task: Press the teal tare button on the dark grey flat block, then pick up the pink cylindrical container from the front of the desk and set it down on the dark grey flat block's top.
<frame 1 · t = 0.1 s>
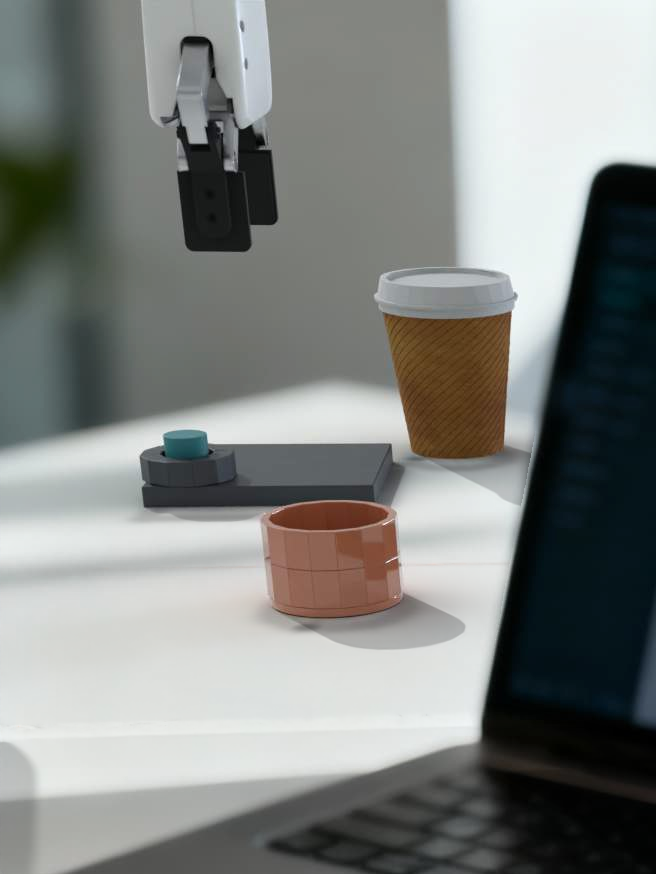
hand: (234, 237, 127), 19 cm above the table, tool pointing down, fingers open, 9 cm apart
tare button: (186, 446, 151), point 3 cm above the table, slide at 0.1 cm
dark grey flat block: (273, 484, 156), on the table
disposable coffee cup: (458, 452, 168), on the table
pink cylindrical container: (337, 599, 133), on the table
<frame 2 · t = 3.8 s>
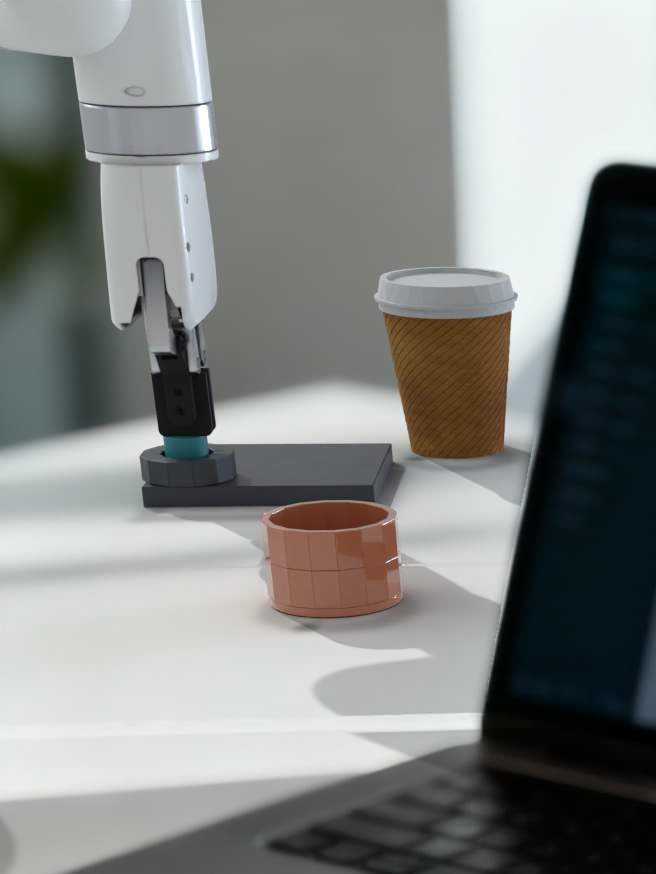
hand: (188, 432, 151), 4 cm above the table, tool pointing down, fingers closed
tare button: (186, 446, 151), point 3 cm above the table, slide at 0.1 cm, touching gripper
everything else where it was.
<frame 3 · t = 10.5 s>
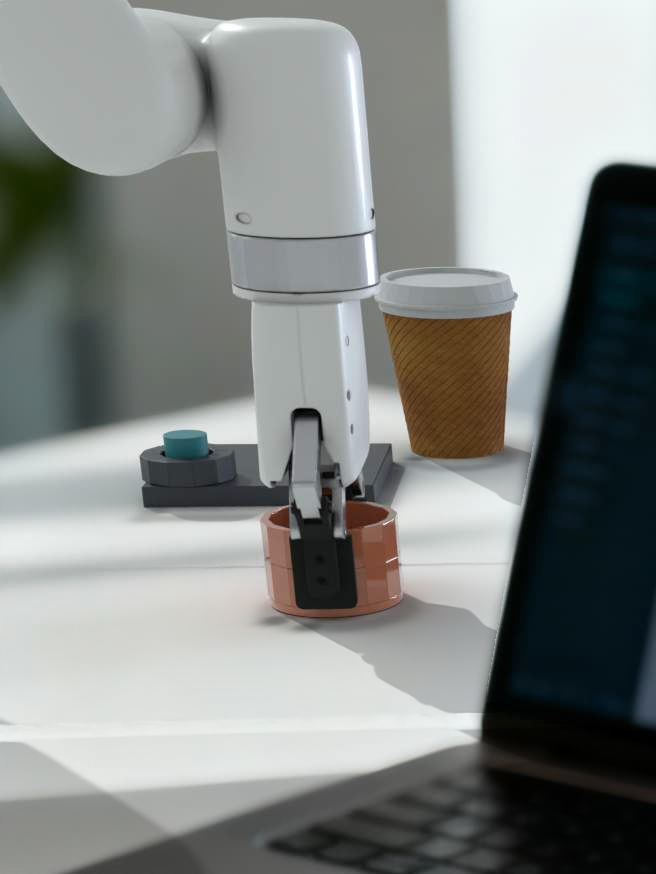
hand: (336, 585, 133), 1 cm above the table, tool pointing down, fingers closed on pink cylindrical container, 7 cm apart
tare button: (186, 446, 151), point 3 cm above the table, slide at 0.1 cm
pink cylindrical container: (337, 599, 133), on the table, touching gripper
everything else where it was.
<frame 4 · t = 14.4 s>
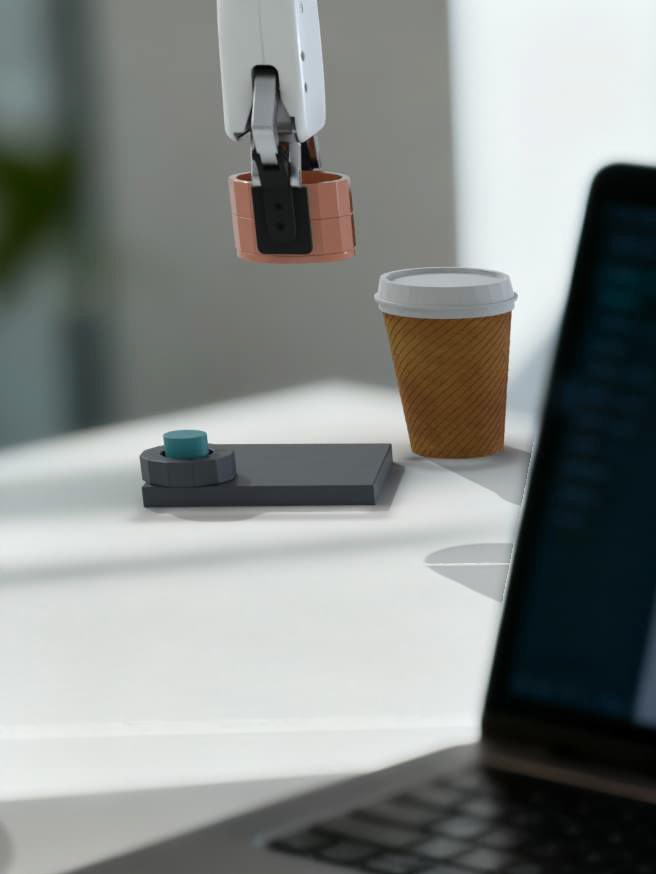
hand: (294, 241, 150), 16 cm above the table, tool pointing down, fingers closed on pink cylindrical container, 7 cm apart
pink cylindrical container: (297, 255, 150), point 15 cm above the table, touching gripper
everything else where it was.
when the fingers open (2 cm above the table, at t = 18.3 s): pink cylindrical container stays where it is, resting on dark grey flat block.
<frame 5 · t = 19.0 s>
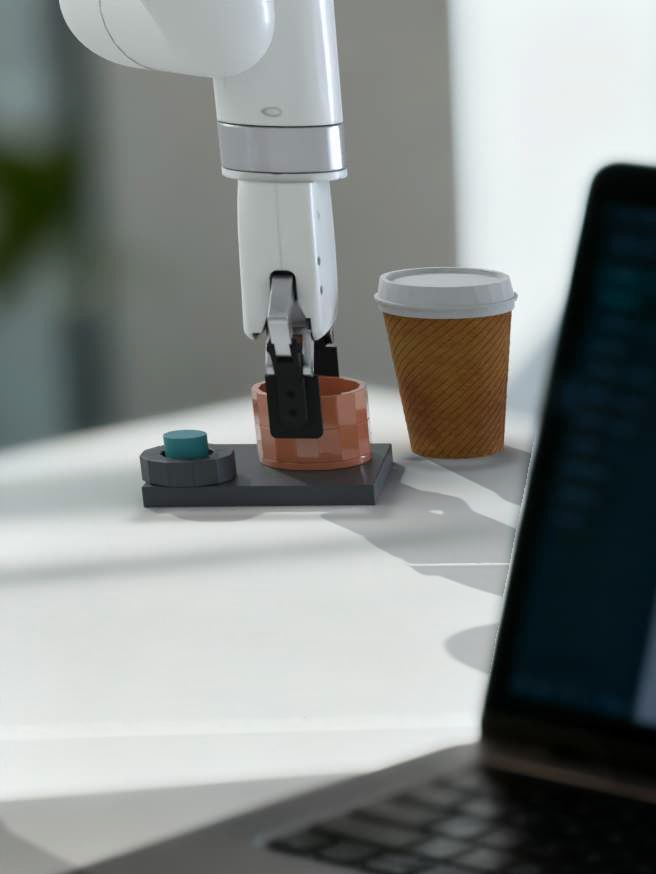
hand: (307, 421, 156), 4 cm above the table, tool pointing down, fingers open, 9 cm apart
pink cylindrical container: (316, 458, 158), point 1 cm above the table, touching dark grey flat block
everything else where it was.
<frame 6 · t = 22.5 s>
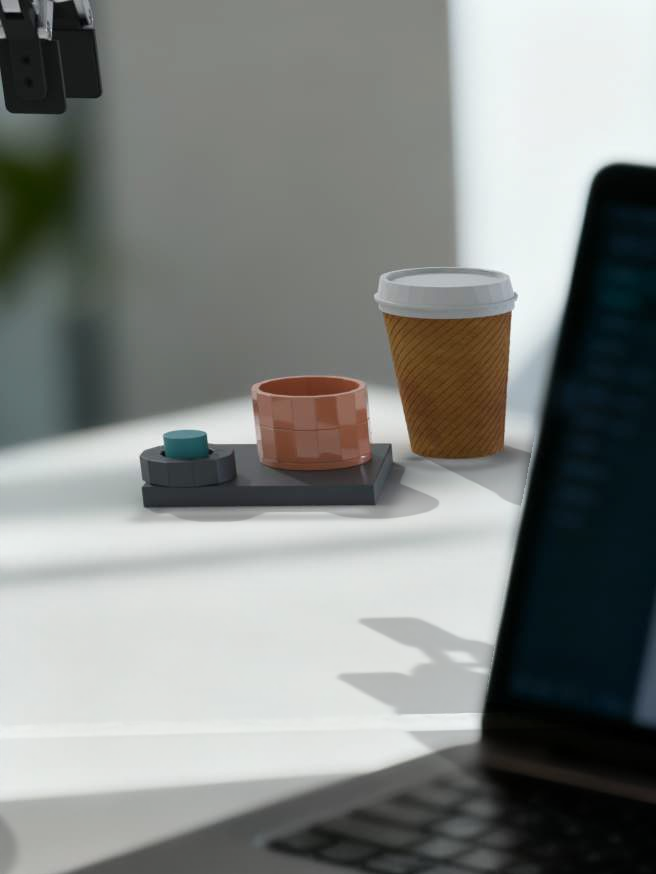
hand: (56, 105, 140), 24 cm above the table, tool pointing down, fingers open, 9 cm apart
nothing on the table moved.
at the end: tare button pushed in 0.9 cm at the most during the clip, back to where it started at the end; tare button slide at 0.1 cm; pink cylindrical container inside the target area on the dark grey flat block (0.1 cm from its centre), point 1.4 cm above the dark grey flat block's base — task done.
